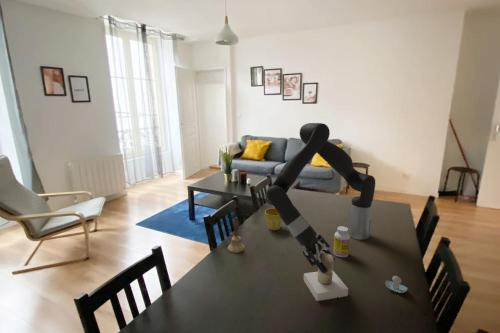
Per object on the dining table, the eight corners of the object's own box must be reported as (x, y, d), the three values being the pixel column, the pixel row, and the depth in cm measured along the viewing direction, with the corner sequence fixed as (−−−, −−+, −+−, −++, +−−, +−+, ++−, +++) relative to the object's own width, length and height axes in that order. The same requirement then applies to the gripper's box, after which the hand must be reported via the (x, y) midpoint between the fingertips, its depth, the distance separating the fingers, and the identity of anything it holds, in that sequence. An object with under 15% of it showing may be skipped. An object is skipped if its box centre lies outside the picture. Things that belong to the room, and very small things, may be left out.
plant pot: (262, 230, 153) (262, 213, 150) (268, 222, 162) (268, 206, 160) (280, 233, 149) (280, 216, 146) (285, 225, 158) (285, 209, 156)
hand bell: (234, 242, 140) (234, 212, 136) (248, 247, 135) (248, 216, 132) (224, 249, 133) (223, 218, 130) (237, 254, 129) (237, 222, 125)
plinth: (331, 276, 113) (332, 269, 112) (347, 295, 101) (348, 288, 100) (303, 280, 110) (303, 273, 109) (316, 301, 99) (317, 293, 98)
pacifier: (387, 281, 109) (383, 289, 104) (389, 267, 108) (385, 274, 103) (408, 289, 105) (405, 297, 100) (410, 274, 103) (407, 282, 99)
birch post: (327, 275, 108) (329, 252, 105) (334, 284, 103) (336, 260, 101) (315, 277, 107) (316, 254, 104) (321, 286, 102) (322, 261, 100)
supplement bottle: (340, 259, 124) (342, 233, 121) (330, 252, 130) (331, 227, 127) (351, 255, 127) (353, 229, 124) (340, 249, 133) (342, 224, 130)
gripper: (300, 232, 98) (331, 272, 95) (315, 218, 110) (342, 252, 106) (286, 242, 102) (315, 280, 99) (302, 227, 114) (328, 261, 110)
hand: (329, 266), depth 103 cm, fingers open, 8 cm apart
